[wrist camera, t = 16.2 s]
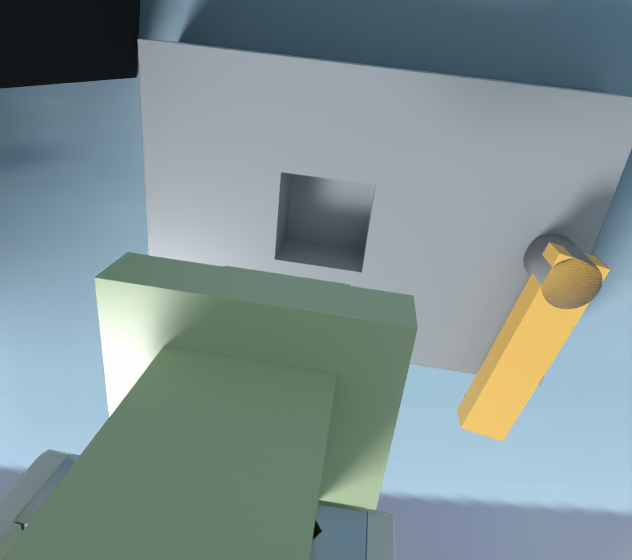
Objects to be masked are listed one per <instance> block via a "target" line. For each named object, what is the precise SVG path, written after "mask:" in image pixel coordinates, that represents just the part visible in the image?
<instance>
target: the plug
mask: <svg viewBox="0 0 632 560" xmlns="http://www.w3.org/2000/svg"><path fill="white" fill-rule="evenodd" d="M94 279H95V289H96V298H97V307H98V316H99V326H100V335H101V344H102V353H103V362H104V372H105V381H106V390H107V399H108V408H109V418H108V420H107V421H106V422H105V424H104V425H103V426H102V428H101V429H100V430H99V432H98V433H97V434H96V435H95V437H94V438H93V439H92V441H91V442H90V443H89V445H88V446H87V447H86V449H85V450H84V451H83V453H82V454H81V455H80V456H79V458H78V459H77V460H76V462H75V463H74V464H73V466H72V467H71V468H70V470H69V471H68V472H67V474H66V475H65V476H64V477H63V479H62V480H61V481H60V483H59V484H58V485H57V487H56V488H55V489H54V491H53V492H52V493H51V494H50V496H49V497H48V498H47V500H46V501H45V502H44V504H43V505H42V506H41V508H40V509H39V510H38V512H37V513H36V514H35V515H34V517H33V518H32V519H31V521H30V522H29V523H28V525H27V526H26V527H25V529H24V530H23V531H22V533H21V534H20V535H19V536H18V538H17V539H16V540H15V542H14V543H13V544H12V546H11V547H10V548H9V550H8V551H7V552H6V553H5V555H4V556H3V557H2V559H1V560H309V559H310V552H311V546H312V539H313V532H314V525H315V519H316V512H317V505H318V500H323V501H329V502H335V503H341V504H347V505H353V506H358V507H364V508H366V509H372V510H376V507H377V503H378V498H379V494H380V490H381V485H382V481H383V477H384V472H385V468H386V464H387V459H388V455H389V451H390V446H391V442H392V438H393V433H394V429H395V425H396V420H397V416H398V412H399V407H400V403H401V399H402V394H403V390H404V386H405V381H406V377H407V373H408V368H409V364H410V360H411V355H412V351H413V347H414V342H415V338H416V334H417V329H418V326H417V318H416V310H415V302H414V295H407V294H401V293H394V292H387V291H381V290H374V289H368V288H361V287H354V286H350V284H344V283H337V282H331V281H324V280H318V279H311V278H304V277H298V276H291V275H284V274H278V273H271V272H265V271H258V270H251V269H245V268H238V267H231V266H224V267H222V266H215V265H209V264H202V263H196V262H189V261H182V260H176V259H169V258H163V257H156V256H149V255H143V254H136V253H129V252H127V253H126V254H125V255H123V256H122V257H121V258H120V259H118V260H117V261H116V262H114V263H113V264H112V265H110V266H109V267H108V268H106V269H105V270H104V271H102V272H101V273H100V274H98V275H97V276H96V277H95V278H94Z"/></svg>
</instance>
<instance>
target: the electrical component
mask: <svg viewBox="0 0 632 560" xmlns="http://www.w3.org/2000/svg"><path fill="white" fill-rule="evenodd" d="M139 15H140V0H0V88H11V87H23V86H35V85H48V84H60V83H73V82H85V81H98V80H110V79H123V78H135V77H136V73H137V54H138V34H139Z"/></svg>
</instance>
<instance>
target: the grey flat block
mask: <svg viewBox="0 0 632 560" xmlns="http://www.w3.org/2000/svg"><path fill="white" fill-rule="evenodd" d="M138 57H139V76H140V96H141V115H142V135H143V154H144V174H145V193H146V213H147V232H148V252H149V256H156V257H163V258H169V259H176V260H182V261H189V262H196V263H202V264H209V265H215V266H222V267H224V266H231V267H238V268H245V269H251V270H258V271H265V272H271V273H278V274H284V275H291V276H298V277H304V278H311V279H318V280H324V281H331V282H337V283H344V284H350V286H354V287H361V288H368V289H374V290H381V291H387V292H394V293H401V294H407V295H414V302H415V310H416V318H417V326H418V329H417V334H416V338H415V342H414V347H413V351H412V355H411V360H410V364H415V365H421V366H427V367H433V368H439V369H445V370H451V371H458V372H464V373H470V374H476V375H477V373H478V371H479V369H480V368H481V366H482V364H483V362H484V360H485V358H486V357H487V355H488V353H489V351H490V349H491V347H492V346H493V344H494V342H495V340H496V338H497V336H498V335H499V333H500V331H501V329H502V327H503V326H504V324H505V322H506V320H507V318H508V316H509V315H510V313H511V311H512V309H513V307H514V305H515V304H516V302H517V300H518V298H519V296H520V294H521V293H522V291H523V289H524V287H525V285H526V283H527V282H528V280H529V278H530V276H529V274H528V273H527V271H526V269H525V267H524V262H523V259H524V254H525V252H526V250H527V248H528V247H529V246H530V244H531V243H532V242H534V241H535V240H537V239H538V238H540V237H543V236H546V235H551V234H557V235H562V236H565V237H567V238H568V239H570V240H571V241H572V242H573V243H574V244H575V245H576V246H577V247H578V248H579V249H580V250H581V251H582V252H583V253H586V254H589V255H591V253H592V250H593V248H594V245H595V242H596V240H597V237H598V235H599V232H600V229H601V227H602V224H603V222H604V219H605V216H606V214H607V211H608V209H609V206H610V203H611V201H612V198H613V196H614V193H615V191H616V188H617V185H618V183H619V180H620V178H621V175H622V172H623V170H624V167H625V165H626V162H627V159H628V157H629V154H630V152H631V149H632V97H631V96H624V95H618V94H612V93H605V92H597V91H589V90H580V89H572V88H564V87H555V86H547V85H538V84H530V83H521V82H513V81H504V80H496V79H487V78H479V77H471V76H462V75H454V74H445V73H437V72H428V71H420V70H411V69H403V68H395V67H386V66H378V65H369V64H361V63H352V62H344V61H335V60H327V59H318V58H310V57H302V56H293V55H285V54H276V53H268V52H259V51H251V50H242V49H234V48H225V47H217V46H209V45H200V44H192V43H183V42H173V41H160V40H146V39H138ZM543 377H544V376H543ZM542 380H543V378H542V379H541V381H540V383H539V384H538V385H541V383H542Z"/></svg>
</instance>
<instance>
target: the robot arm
mask: <svg viewBox="0 0 632 560" xmlns="http://www.w3.org/2000/svg"><path fill="white" fill-rule="evenodd" d="M79 456H80V455H75V454H70V453H65V452H60V451H55V450H47V451H46V452H44V453H42V454H41V455H40V456H39V457H38V458H37V459H36V460H35V461H34V463H33V464H32V465H31V466H30V467H29V468H28V469H27V471H26V472H25V473H24V474H23V475H22V476H21V478H20V479H19V480H18V481H17V482H16V483H15V484H14V486H13V487H12V488H11V489H10V490H9V491H8V492H7V494H6V495H5V496H4V497H3V498H2V500H0V560H1V559H2V557H3V556H4V555H5V553H6V552H7V551H8V550H9V548H10V547H11V546H12V544H13V543H14V542H15V540H16V539H17V538H18V536H19V535H20V534H21V533H22V531H23V530H24V529H25V527H26V526H27V525H28V523H29V522H30V521H31V519H32V518H33V517H34V515H35V514H36V513H37V512H38V510H39V509H40V508H41V506H42V505H43V504H44V502H45V501H46V500H47V498H48V497H49V496H50V494H51V493H52V492H53V491H54V489H55V488H56V487H57V485H58V484H59V483H60V481H61V480H62V479H63V477H64V476H65V475H66V474H67V472H68V471H69V470H70V468H71V467H72V466H73V464H74V463H75V462H76V460H77V459H78V458H79ZM394 530H395V528H394V517H393V514H392V513H388V512H383V511H377V510H372V509H366V508H364V507H358V506H353V505H347V504H341V503H335V502H329V501H323V500H318V505H317V512H316V519H315V525H314V532H313V539H312V546H311V552H310V559H309V560H395V531H394Z"/></svg>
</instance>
